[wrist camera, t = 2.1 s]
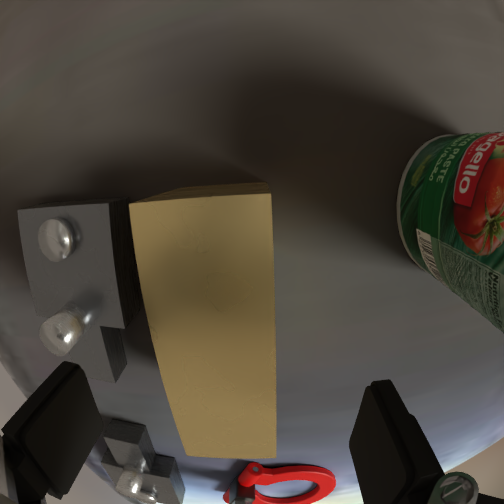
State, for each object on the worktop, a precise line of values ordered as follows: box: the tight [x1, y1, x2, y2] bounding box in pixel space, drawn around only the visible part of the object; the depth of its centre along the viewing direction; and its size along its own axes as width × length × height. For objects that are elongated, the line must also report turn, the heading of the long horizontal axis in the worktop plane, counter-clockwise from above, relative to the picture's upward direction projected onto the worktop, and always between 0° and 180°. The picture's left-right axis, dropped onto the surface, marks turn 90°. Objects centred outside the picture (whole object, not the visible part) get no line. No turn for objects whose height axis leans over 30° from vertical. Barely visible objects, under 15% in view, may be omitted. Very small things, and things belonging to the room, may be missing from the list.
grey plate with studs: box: [17, 197, 185, 504], centre depth 15 cm, size 26×6×4 cm, turn 179°
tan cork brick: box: [129, 182, 276, 458], centre depth 12 cm, size 11×4×6 cm, turn 3°
